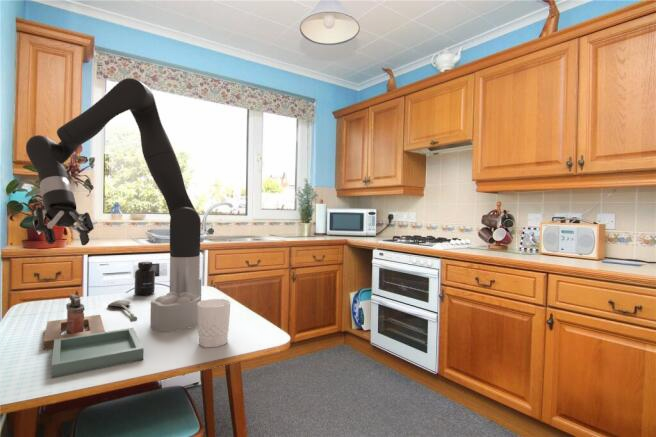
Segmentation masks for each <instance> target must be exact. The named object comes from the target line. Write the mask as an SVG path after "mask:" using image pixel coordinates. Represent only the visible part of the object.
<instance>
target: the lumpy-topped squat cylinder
mask: <svg viewBox="0 0 656 437" xmlns="http://www.w3.org/2000/svg"><path fill="white" fill-rule="evenodd" d="M200 301H202V296H201V297H200V296H197V295H195V294H191V293H188V292H183V293H180V294H179V295H178V294H177V293H174V292H170V291H169V292H168V293H167V294H164V295H160V296H158V297H156V298H154V299H152V300H151V301H150V328H151V329H154V330H156V331H157V332H158V333H166V334H167V333H173V332H177V331H182V330H186V329H190V328H193V327H196V326H198V315H197V303H198V302H200Z"/></svg>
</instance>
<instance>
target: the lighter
mask: <svg viewBox="0 0 656 437" xmlns="http://www.w3.org/2000/svg"><path fill="white" fill-rule="evenodd" d="M69 300H70V302H67V303H66V305H65V306H66V310H67V312H66V315H67V316H66V319H67V329H66V330H65V332H66V333H65V334H71V333H78V332H85V330H84V327H83V319H84V317H85V313H84V311H85V305H84V304H83V303H81V296H80V295H76V294H73V293H72V294H69Z"/></svg>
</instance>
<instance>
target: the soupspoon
mask: <svg viewBox="0 0 656 437" xmlns="http://www.w3.org/2000/svg"><path fill="white" fill-rule="evenodd" d="M131 303H132V302H131V301H129V300H126V299H120V300H114V301H112V302H110V303H109V304H108V305H107V307H109V308H110V307H119V308H122V309H124V310H125V311H126V312H127V313H128V314H129V316H130V321H131V322H132V321H137V320H138V317H137V316H135V314H134V313H132V312H133V311H131V310H130V309H129V308H128V307H127V306H128V305H130V304H131Z"/></svg>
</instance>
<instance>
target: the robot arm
mask: <svg viewBox="0 0 656 437" xmlns="http://www.w3.org/2000/svg"><path fill="white" fill-rule="evenodd" d="M127 111H130V112H131V114H132V116H133V118H134V121H135V123H136V125H137V127H138V130H139V135H140V144H141V151H142V156H143V158H144V161H145V163H146V166H147V168H148V171H149V172H150V175H151V177H152V178H153V181H154V183H155V185H156V186H157V188H158V189H159V192H160V193H161V194H162V196H163V198H164V201H165V204H166V206H167V209H168V214H169V218H170V219H169V220H170V221H169V293H170V292H174V293H177V294H178V295H179V294H180V293H183V292H188V293H191V294H195V295H197V296H200V297H201V298H202V278H201V277H200V275H201V274H200V272H201V271H200V270H201V267H200V266H201V263H200V262H201V230H202V228H201V225H202V223H201V216H200V214H199V213H198V212H197V210H196V209H195V207H194V205H193V203H192V200H191V199H190V196H189V194H188V193H187V188H186V186H185V185H186V184H185V181H184V177H183V173H182V170H181V167H180V163H179V160H178V158H177V156H176V153H175V151H174V148H173V145H172V143H171V141H170V138H169V136H168V134H167V132H166V130H165V128H164V127H163V126H164V125H163V123H162V120H161V118H160V114H159V110H158V106H157V102H156V100H155V95H154V93H153V92H152V90H151V88H149V87H148V86H147V85H146V84H145V83H143V82H141V81H140V80H138V79H136V78H132V77H127V78H124V79H122V80H120V81H119V82H117V84H115V85H114V86H113V87H112V88H110V90H109V91H108V92H107V93H106V94H105V95H103V96H102V97H101V98H100V99H98V101H96V102H94V104H93V105H91V106H90V107H89V108H88V109H86V110H85V111H83V112H82V113H80V114H79V115H77V116H76V117H74V118H72V119H71V120H69V121H68V122H66V123H64V124H63V125H62V126H60V127H59V128H58V129H57V131H56V135H57V137H58V139H59V140H60V141H59V142H56V141H54V140H52V139H50V138H49V137H47V136H45V135H40V134H38V135H33V136H31V137H30V138H29V139H28V140H27V142H26V145H25V150H26V154H27V157H28V159H29V161H30V162H31V164H32V166H33V168H34V169H35V171H36V173H37V175H38V180H39V186H40V187H39V188H40V195H41V198H42V203H43V204H42V205H43V207H44V209H43V208H42V207H40V206H39V207H38V206H37V207H36V209H35V210H34V211H33V212H32V218H33V228H34V230H35V231H41V232H42V233H43V234H44V238H45V241H46V243H48V245H53V244H55V243H56V235H55V231H54V229H53V227H54V226H56V227H66V228H70V229H72V230H73V231H76V232H77V233H78V234H79V239H80V244H81V245H82V246H86V245H88V243H89V242H90V236H89V233H91V232H92V231H93V230H94V229H95V228H94V223H93V222H92V219H91V215H90V213H89V212H84V213H79V212H78V210H77V202H76V198H75V194H74V191H73V187H72V185H71V182H70V179H69V176H68V172H67V169H66V167H65V165H63V164H65V162H67V161H68V160H69V159H70V157H71V156H72V155H73V153H74V152H76V150H77V149H78V148H80V147H81V146H82V145H83V144H85V143H86V142H88V141H90V140H91V139H92V138H94V137H95V136H96V135H98V134H99V133H100V132H101V131H102V130H104V127H106V125H107V124H108V123H109V122H111V120H113V119H114V118H115V117H117V116H119V115H121V114H122V113H124V112H127ZM44 216H45V218H47V219H48V220H49V222H48V223H47V224H45V220H44ZM75 223H76V224H75Z"/></svg>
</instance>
